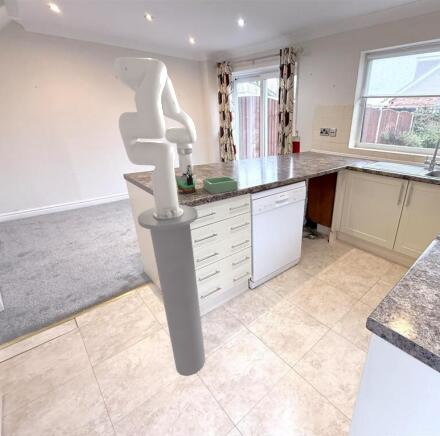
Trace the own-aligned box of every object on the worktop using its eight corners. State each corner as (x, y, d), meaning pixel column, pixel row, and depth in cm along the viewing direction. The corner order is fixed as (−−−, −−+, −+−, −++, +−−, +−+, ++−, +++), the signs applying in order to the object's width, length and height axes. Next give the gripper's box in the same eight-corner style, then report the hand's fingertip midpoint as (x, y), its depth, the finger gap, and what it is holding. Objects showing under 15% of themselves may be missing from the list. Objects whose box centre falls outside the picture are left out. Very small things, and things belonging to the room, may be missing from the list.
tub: (237, 189, 148) (237, 180, 146) (211, 194, 140) (210, 184, 137) (228, 184, 158) (228, 176, 156) (203, 188, 149) (202, 179, 147)
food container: (181, 195, 135) (179, 177, 131) (176, 192, 139) (174, 175, 135) (201, 191, 144) (200, 174, 140) (195, 188, 147) (194, 172, 143)
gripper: (173, 149, 136) (177, 180, 144) (182, 154, 124) (186, 188, 131) (186, 148, 141) (190, 179, 148) (197, 153, 128) (200, 186, 135)
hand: (188, 183), depth 139 cm, fingers closed on food container, 6 cm apart
